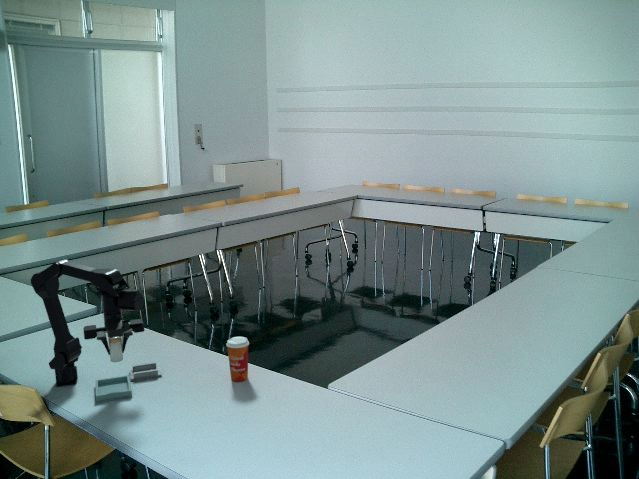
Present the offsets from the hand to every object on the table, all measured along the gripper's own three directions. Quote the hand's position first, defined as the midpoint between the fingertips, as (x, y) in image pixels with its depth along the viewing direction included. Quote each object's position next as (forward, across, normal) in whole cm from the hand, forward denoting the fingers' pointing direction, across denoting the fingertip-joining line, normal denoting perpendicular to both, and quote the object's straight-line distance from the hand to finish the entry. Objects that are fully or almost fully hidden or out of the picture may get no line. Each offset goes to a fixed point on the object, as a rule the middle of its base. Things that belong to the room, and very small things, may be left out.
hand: (116, 353), depth 213 cm
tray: (+12, -2, -2) cm, 13 cm away
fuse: (+2, 0, 0) cm, 2 cm away
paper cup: (+12, +39, -9) cm, 42 cm away
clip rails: (+12, +10, +8) cm, 17 cm away
